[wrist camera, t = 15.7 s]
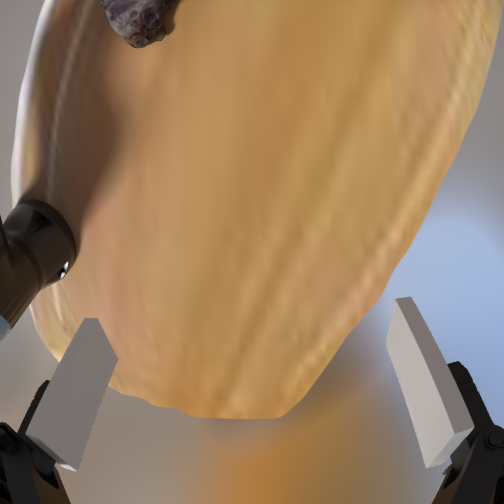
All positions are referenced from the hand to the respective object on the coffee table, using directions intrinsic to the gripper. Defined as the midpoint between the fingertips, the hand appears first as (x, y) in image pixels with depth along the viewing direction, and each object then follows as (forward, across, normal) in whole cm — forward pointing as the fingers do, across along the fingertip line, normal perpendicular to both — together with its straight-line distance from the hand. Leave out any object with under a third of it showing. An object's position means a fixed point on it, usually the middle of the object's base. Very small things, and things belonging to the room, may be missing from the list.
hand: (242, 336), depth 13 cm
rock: (+32, -11, +24) cm, 41 cm away
